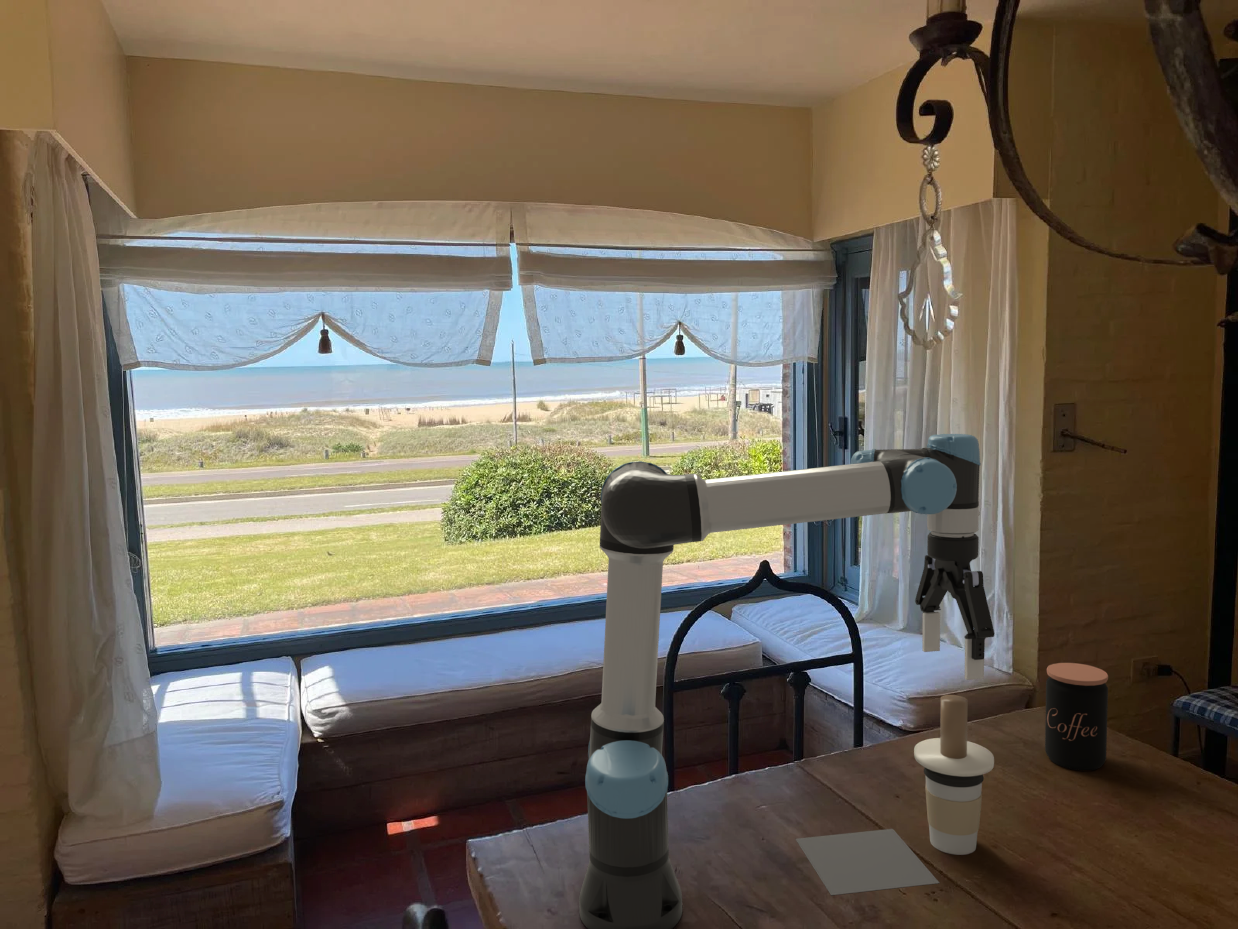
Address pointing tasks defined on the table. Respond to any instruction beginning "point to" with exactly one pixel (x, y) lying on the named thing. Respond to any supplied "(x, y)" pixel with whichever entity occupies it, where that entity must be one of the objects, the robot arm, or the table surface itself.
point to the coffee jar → (1076, 716)
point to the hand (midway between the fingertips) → (951, 664)
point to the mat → (865, 862)
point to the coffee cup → (953, 811)
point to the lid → (954, 744)
